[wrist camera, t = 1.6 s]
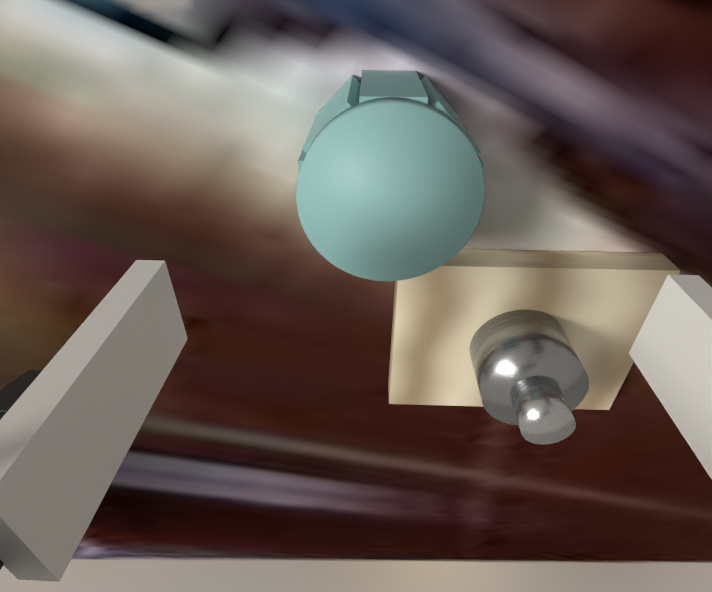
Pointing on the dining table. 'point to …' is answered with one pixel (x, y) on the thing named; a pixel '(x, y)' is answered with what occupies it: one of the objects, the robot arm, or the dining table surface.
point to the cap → (389, 178)
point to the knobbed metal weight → (529, 374)
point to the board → (517, 292)
